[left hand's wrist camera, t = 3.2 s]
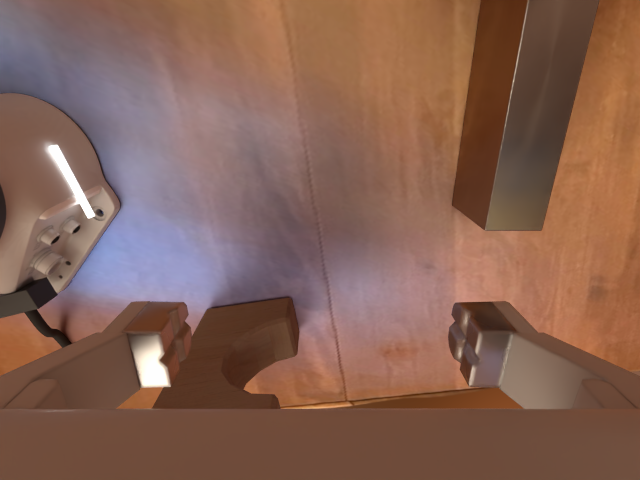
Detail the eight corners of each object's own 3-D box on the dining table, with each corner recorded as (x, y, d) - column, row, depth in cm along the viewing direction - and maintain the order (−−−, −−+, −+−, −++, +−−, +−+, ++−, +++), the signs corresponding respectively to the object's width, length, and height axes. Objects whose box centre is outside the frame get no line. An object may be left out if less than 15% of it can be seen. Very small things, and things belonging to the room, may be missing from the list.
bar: (497, 205, 38) (542, 230, 30) (451, 205, 38) (484, 231, 30) (557, -108, 28) (647, -188, 21) (496, -108, 28) (562, -188, 21)
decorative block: (292, 295, 42) (270, 445, 24) (300, 333, 44) (285, 499, 26) (205, 306, 43) (116, 461, 24) (216, 343, 45) (142, 512, 26)
